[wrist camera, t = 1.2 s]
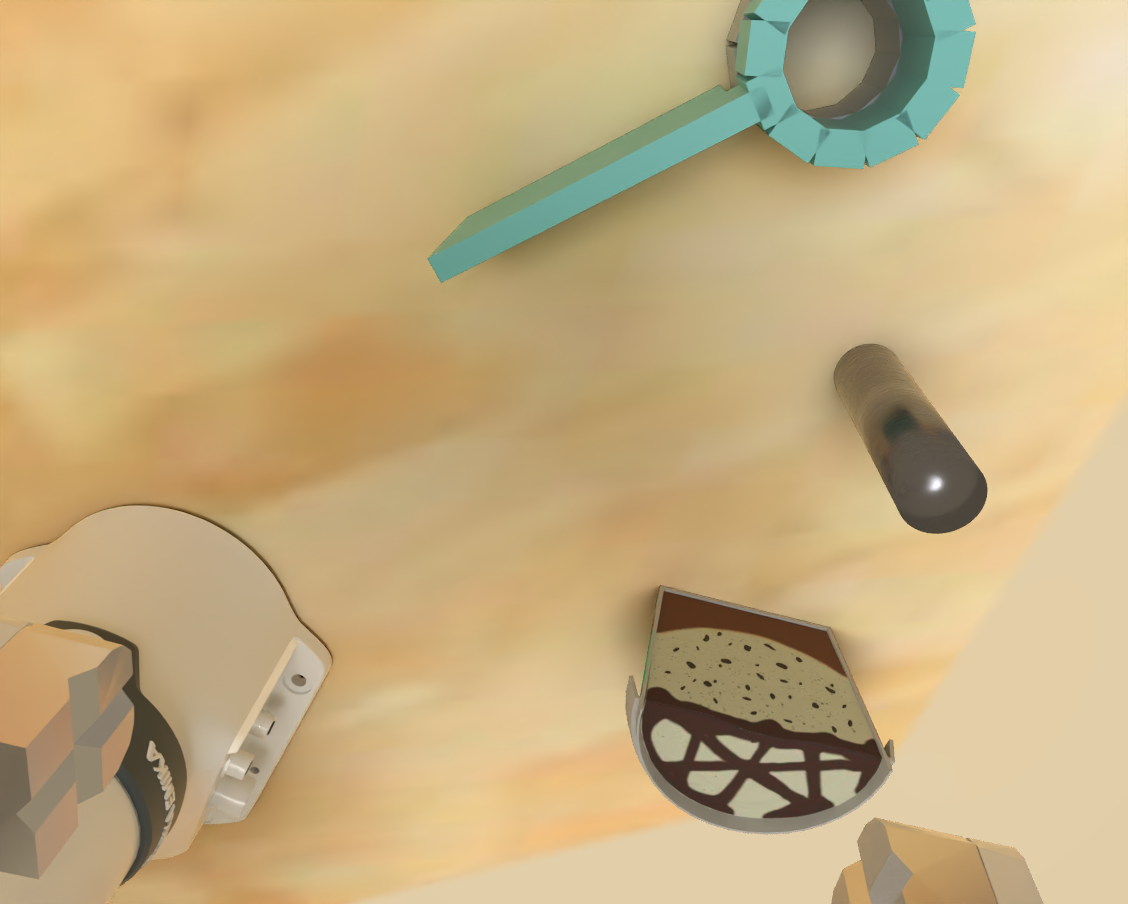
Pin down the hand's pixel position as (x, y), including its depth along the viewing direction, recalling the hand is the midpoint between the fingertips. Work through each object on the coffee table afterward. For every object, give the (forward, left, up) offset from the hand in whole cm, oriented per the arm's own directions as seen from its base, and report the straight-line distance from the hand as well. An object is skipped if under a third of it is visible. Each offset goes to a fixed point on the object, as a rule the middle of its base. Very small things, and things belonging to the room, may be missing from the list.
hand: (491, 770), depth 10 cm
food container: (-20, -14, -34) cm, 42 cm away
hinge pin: (-3, -14, -33) cm, 36 cm away
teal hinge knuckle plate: (+4, -1, -33) cm, 33 cm away
